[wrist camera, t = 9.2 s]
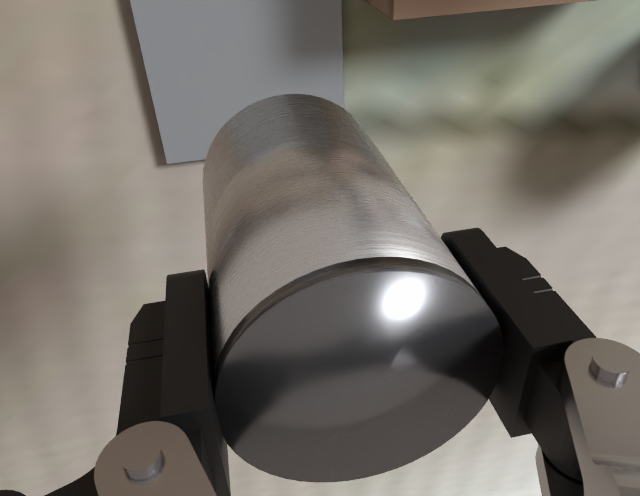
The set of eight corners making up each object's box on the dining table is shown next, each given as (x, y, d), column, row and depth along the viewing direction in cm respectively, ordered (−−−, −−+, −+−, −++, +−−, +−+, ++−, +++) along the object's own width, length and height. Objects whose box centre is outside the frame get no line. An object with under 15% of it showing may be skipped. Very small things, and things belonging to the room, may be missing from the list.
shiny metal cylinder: (187, 105, 14) (187, 303, 7) (376, 83, 15) (526, 248, 8) (217, 262, 17) (237, 505, 10) (374, 238, 17) (485, 451, 11)
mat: (116, -69, 24) (114, -67, 24) (335, -84, 26) (339, -83, 25) (167, 158, 31) (167, 164, 30) (341, 136, 32) (344, 141, 31)
